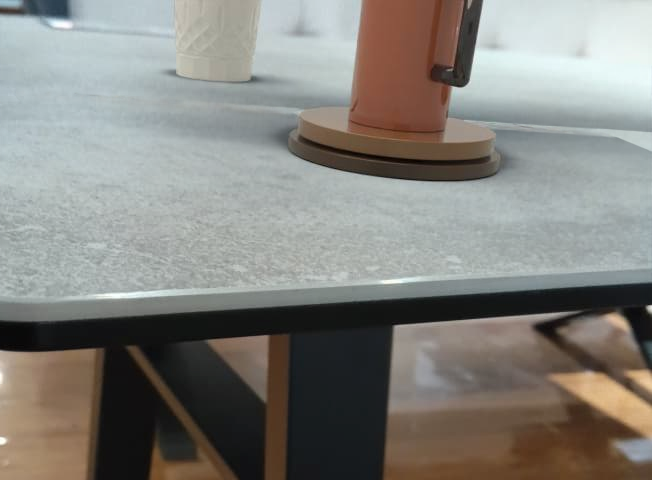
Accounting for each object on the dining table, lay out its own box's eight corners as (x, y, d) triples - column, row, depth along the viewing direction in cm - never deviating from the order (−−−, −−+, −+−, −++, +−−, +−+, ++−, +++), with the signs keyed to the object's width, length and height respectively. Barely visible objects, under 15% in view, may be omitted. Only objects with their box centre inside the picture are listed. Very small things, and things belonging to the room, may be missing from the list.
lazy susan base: (462, 143, 62) (464, 131, 61) (529, 186, 50) (532, 172, 50) (277, 130, 60) (278, 118, 60) (302, 172, 48) (303, 158, 48)
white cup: (160, 75, 83) (163, -44, 78) (239, 78, 85) (246, -37, 81) (184, 87, 76) (189, -42, 72) (269, 90, 79) (278, -34, 74)
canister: (262, 123, 56) (280, -114, 51) (409, 121, 62) (440, -92, 56) (374, 164, 47) (411, -121, 41) (535, 157, 53) (587, -93, 47)
